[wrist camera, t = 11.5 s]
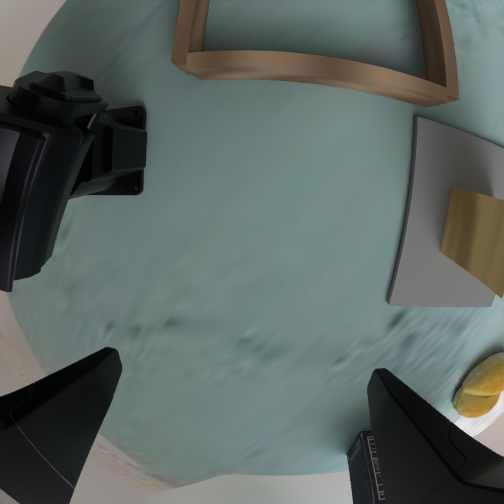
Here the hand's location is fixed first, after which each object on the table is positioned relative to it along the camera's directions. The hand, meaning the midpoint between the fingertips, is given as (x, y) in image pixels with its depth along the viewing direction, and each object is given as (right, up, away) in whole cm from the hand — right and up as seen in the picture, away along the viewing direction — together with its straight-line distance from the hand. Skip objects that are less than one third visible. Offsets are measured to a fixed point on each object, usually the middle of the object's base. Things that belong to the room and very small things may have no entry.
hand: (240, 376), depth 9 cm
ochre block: (+17, +6, +8) cm, 20 cm away
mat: (+17, +6, +9) cm, 20 cm away
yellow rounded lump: (+28, -11, +14) cm, 33 cm away
